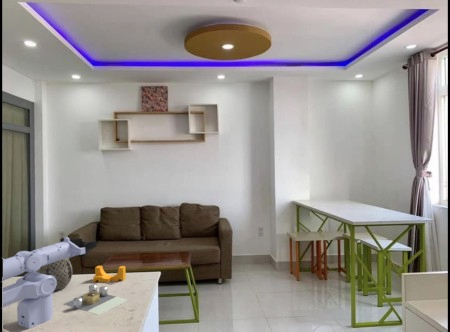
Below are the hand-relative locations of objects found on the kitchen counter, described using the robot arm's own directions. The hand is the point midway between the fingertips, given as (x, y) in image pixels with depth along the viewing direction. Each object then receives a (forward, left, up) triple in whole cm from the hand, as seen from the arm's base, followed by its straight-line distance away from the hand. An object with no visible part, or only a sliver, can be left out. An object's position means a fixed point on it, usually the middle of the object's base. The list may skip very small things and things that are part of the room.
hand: (88, 242), depth 126 cm
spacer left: (-8, -4, -20) cm, 22 cm away
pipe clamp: (+15, +6, -22) cm, 27 cm away
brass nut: (-3, -4, -20) cm, 21 cm away
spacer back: (+2, +1, -20) cm, 20 cm away
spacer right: (+3, -4, -20) cm, 21 cm away
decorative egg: (0, +19, -21) cm, 29 cm away
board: (-2, -6, -21) cm, 22 cm away
